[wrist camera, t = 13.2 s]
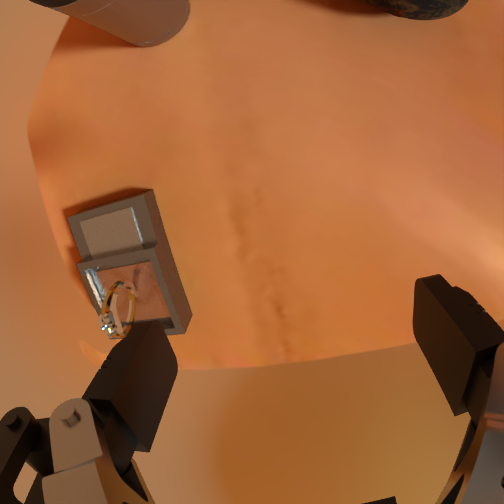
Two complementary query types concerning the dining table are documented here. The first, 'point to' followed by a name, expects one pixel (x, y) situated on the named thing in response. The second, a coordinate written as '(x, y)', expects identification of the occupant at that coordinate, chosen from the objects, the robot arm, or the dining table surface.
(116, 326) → the ring
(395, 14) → the glass bottle
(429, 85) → the dining table surface
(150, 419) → the robot arm
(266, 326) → the dining table surface
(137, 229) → the grey tray
